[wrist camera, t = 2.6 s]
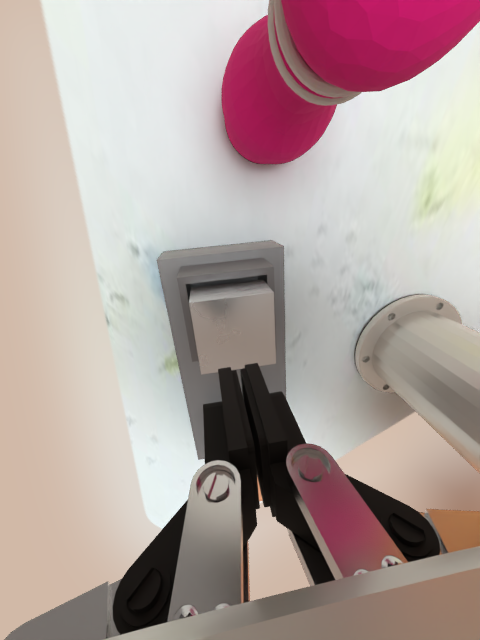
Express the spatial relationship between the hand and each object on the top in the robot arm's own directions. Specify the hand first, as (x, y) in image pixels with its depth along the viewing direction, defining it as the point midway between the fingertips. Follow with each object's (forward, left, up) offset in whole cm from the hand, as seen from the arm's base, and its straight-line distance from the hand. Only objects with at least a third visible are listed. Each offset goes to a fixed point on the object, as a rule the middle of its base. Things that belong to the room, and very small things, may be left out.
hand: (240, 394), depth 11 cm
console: (-6, +4, -16) cm, 18 cm away
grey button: (0, 0, -9) cm, 9 cm away
